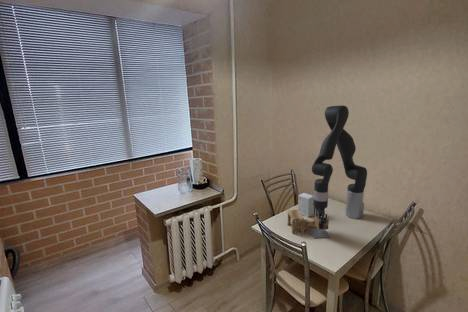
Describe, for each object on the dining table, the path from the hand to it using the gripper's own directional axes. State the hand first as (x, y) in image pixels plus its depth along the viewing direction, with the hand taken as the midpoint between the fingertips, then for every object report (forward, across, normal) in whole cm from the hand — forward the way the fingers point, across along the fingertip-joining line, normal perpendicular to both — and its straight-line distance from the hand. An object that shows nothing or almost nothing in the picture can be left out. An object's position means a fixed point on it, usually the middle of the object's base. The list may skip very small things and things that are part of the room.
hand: (319, 225), depth 140 cm
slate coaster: (+5, 0, 0) cm, 5 cm away
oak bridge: (+5, +7, +12) cm, 14 cm away
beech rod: (+5, +7, +6) cm, 10 cm away
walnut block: (+1, 0, -1) cm, 2 cm away
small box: (+5, +24, 0) cm, 25 cm away
